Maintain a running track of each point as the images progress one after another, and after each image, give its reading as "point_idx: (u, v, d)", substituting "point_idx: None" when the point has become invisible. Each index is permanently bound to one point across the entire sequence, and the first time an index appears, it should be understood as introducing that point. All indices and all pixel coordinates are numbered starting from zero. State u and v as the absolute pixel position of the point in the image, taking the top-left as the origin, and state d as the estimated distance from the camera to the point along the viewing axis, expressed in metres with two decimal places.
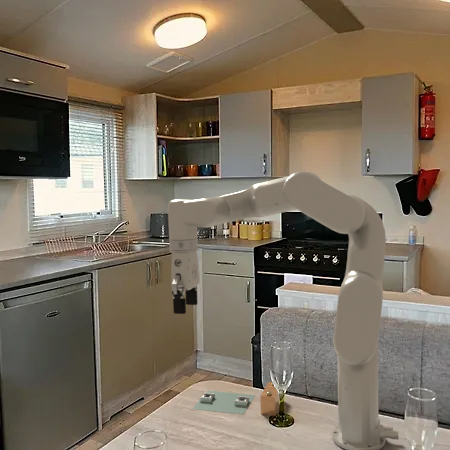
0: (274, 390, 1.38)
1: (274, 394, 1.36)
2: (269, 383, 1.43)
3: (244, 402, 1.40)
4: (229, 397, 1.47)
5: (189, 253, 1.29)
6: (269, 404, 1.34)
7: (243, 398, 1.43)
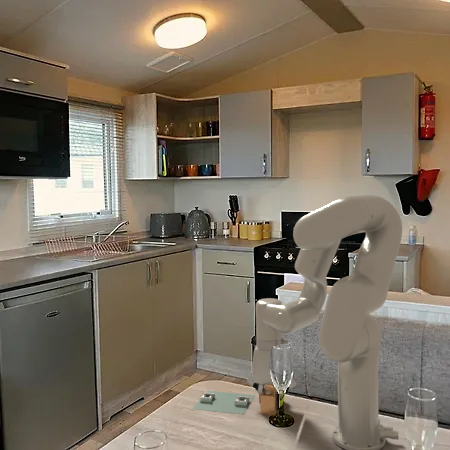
0: (274, 389, 1.38)
1: (274, 393, 1.36)
2: None
3: (244, 402, 1.40)
4: (229, 397, 1.47)
5: None
6: (269, 403, 1.34)
7: (243, 398, 1.43)
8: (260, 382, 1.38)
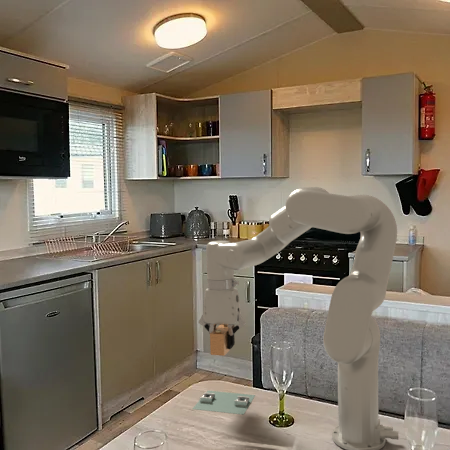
0: (224, 329, 1.41)
1: (223, 332, 1.39)
2: None
3: (244, 402, 1.40)
4: (229, 397, 1.47)
5: None
6: (218, 341, 1.37)
7: (243, 398, 1.43)
8: (211, 322, 1.41)
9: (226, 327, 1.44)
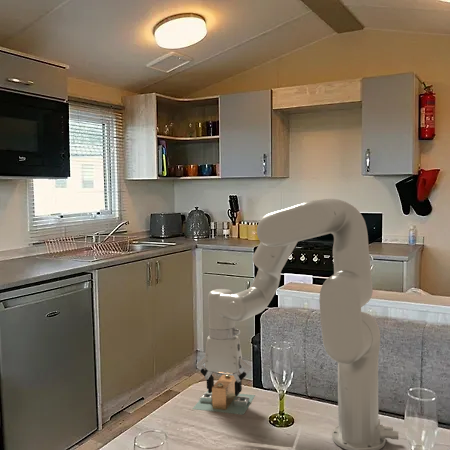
0: (226, 382, 1.42)
1: (225, 386, 1.40)
2: (223, 376, 1.48)
3: (244, 402, 1.40)
4: None
5: None
6: (220, 396, 1.39)
7: (243, 398, 1.43)
8: (212, 370, 1.42)
9: (228, 379, 1.45)
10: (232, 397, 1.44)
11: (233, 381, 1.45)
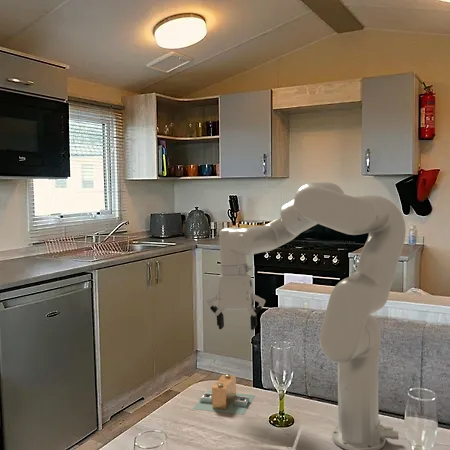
0: (226, 382, 1.42)
1: (225, 386, 1.40)
2: (223, 376, 1.48)
3: (244, 402, 1.40)
4: None
5: None
6: (220, 396, 1.39)
7: (243, 398, 1.43)
8: (225, 307, 1.43)
9: (228, 379, 1.45)
10: (232, 397, 1.44)
11: (233, 381, 1.45)
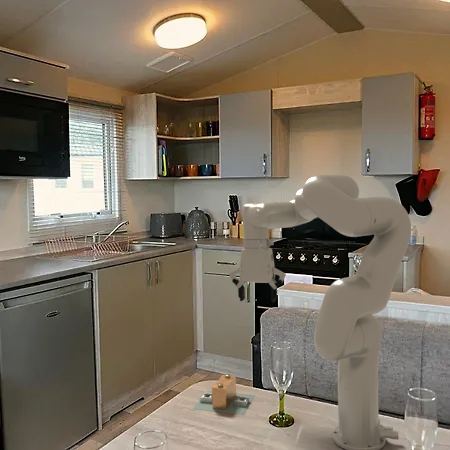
0: (226, 382, 1.42)
1: (225, 386, 1.40)
2: (223, 376, 1.48)
3: (244, 402, 1.40)
4: None
5: None
6: (220, 396, 1.39)
7: (243, 398, 1.43)
8: (247, 280, 1.48)
9: (228, 379, 1.45)
10: (232, 397, 1.44)
11: (233, 381, 1.45)
